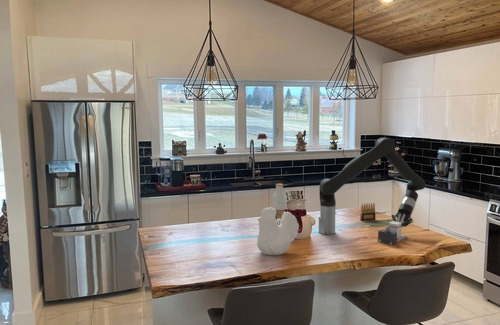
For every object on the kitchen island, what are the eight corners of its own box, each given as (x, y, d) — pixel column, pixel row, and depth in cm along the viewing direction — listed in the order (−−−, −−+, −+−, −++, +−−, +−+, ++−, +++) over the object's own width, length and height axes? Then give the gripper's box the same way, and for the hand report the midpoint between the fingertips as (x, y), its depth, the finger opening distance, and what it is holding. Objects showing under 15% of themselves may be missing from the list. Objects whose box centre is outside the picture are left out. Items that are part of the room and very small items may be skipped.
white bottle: (269, 225, 261) (269, 183, 258) (281, 223, 265) (282, 182, 262) (276, 229, 252) (276, 185, 249) (289, 227, 257) (289, 184, 253)
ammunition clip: (361, 220, 270) (361, 203, 269) (360, 220, 272) (360, 203, 271) (375, 219, 273) (376, 202, 271) (374, 219, 275) (374, 202, 273)
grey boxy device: (392, 236, 235) (393, 219, 233) (407, 240, 228) (408, 222, 227) (377, 244, 222) (378, 225, 220) (393, 247, 215) (393, 228, 214)
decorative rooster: (262, 260, 198) (262, 212, 195) (252, 250, 213) (252, 205, 210) (307, 254, 206) (308, 208, 203) (295, 245, 220) (295, 201, 217)
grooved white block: (392, 236, 230) (392, 221, 229) (400, 238, 226) (401, 222, 225) (388, 238, 226) (388, 222, 225) (396, 240, 222) (397, 224, 221)
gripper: (394, 201, 237) (384, 225, 230) (416, 204, 228) (406, 229, 221) (398, 208, 242) (388, 232, 235) (419, 212, 232) (410, 236, 225)
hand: (397, 231), depth 228 cm, fingers closed
